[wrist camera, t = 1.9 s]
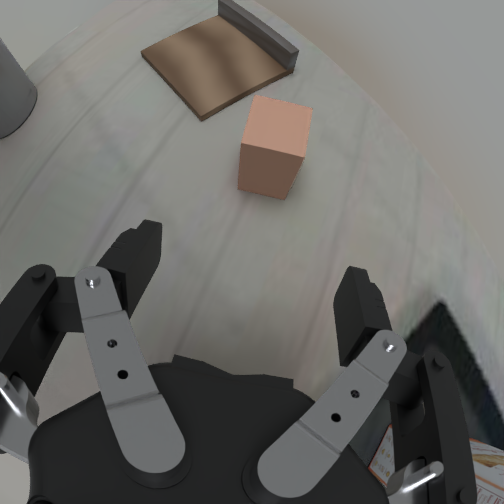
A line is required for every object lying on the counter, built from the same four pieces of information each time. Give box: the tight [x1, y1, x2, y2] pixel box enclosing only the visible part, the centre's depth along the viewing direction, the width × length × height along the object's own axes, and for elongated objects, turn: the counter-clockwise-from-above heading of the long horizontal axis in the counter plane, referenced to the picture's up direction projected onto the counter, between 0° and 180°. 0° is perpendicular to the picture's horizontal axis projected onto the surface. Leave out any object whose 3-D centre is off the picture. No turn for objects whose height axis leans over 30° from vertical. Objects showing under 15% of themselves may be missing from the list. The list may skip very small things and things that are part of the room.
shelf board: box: [141, 0, 299, 121], centre depth 32 cm, size 13×14×4 cm
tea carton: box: [238, 95, 313, 200], centre depth 27 cm, size 5×5×9 cm
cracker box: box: [368, 425, 504, 504], centre depth 16 cm, size 14×6×21 cm, turn 68°
